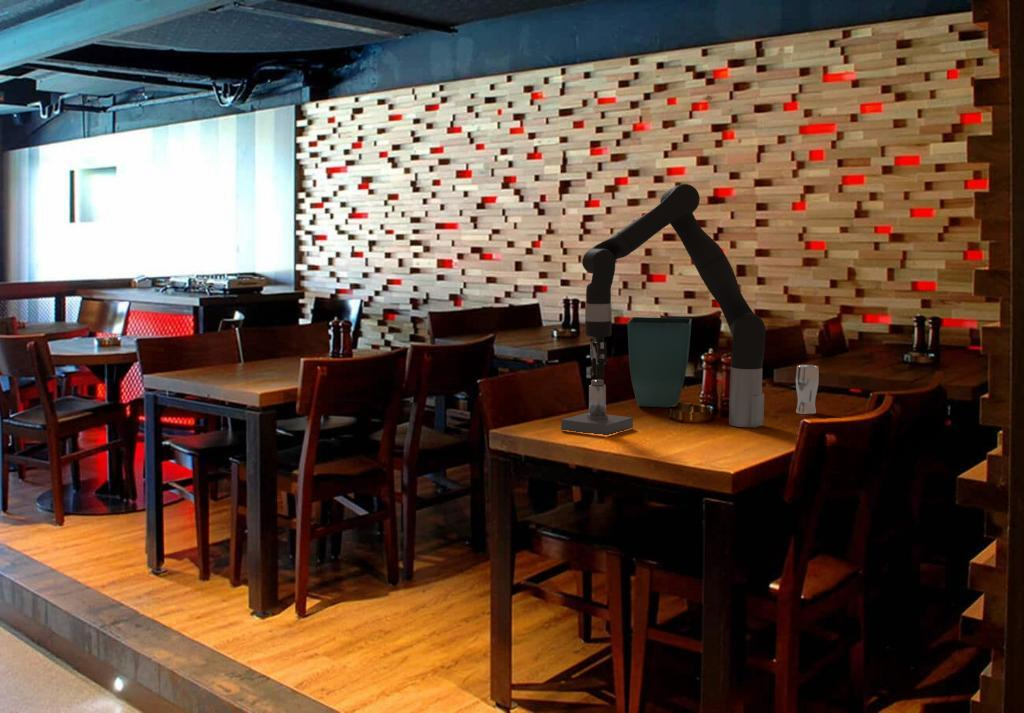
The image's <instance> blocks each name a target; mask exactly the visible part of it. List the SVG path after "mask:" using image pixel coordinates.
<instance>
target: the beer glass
mask: <svg viewBox="0 0 1024 713" xmlns="http://www.w3.org/2000/svg"><path fill="white" fill-rule="evenodd" d="M819 374H820V373H819V365H816V364H815V365H814V364H798V365H796V373H795V388H796V395H797V405H796V410H795V412H796V413H797V414H800V415H815V414H817V409H816V397H817V393H818V389H819V383H820V382H819V381H820V380H819V379H820V377H819V376H820V375H819Z"/></svg>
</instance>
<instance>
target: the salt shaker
mask: <svg viewBox="0 0 1024 713" xmlns="http://www.w3.org/2000/svg"><path fill="white" fill-rule="evenodd" d="M590 382H591V384H590V385H588V412H589V413H588V412H586V413H587V417H588V418H589V419H590V420H608V416H607V415H608V414H607V412H606V411H607V410H606V409H607V404H606V403H607V385H606V384H605V383H604V382H605V380H603V379H601V378H596V379H592V380H590Z"/></svg>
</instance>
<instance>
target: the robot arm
mask: <svg viewBox="0 0 1024 713" xmlns="http://www.w3.org/2000/svg"><path fill="white" fill-rule="evenodd" d="M700 199H701V198H700V194H699V192H698V190H697V189H696V188H695V186H693V185H691V184H687V183H681V184H676V185H674V186H673V187H671V188H670V189H668V190H666V191H665V192H664V193H663V194H661V197H660V203H659V204H658V205H656V206H655V207H654V208H653V209H651V210H649V211H648V212H646V213H645V214H643V215H642V216H640V217H638V218H636V219H635V220H633V221H631V222H630V223H628V224H627V225H625V226H624V227H623V228H621V229H620V230H619V231H617V232H616V233H614V234H613V235H612V236H610V237H609V238H607V239H605V240H603V241H601V242H599V243H598V244H595V245H594V246H593V247H591V248H589V249H588V250H587V251H586V252H585V253H584V255H583V257H582V259H581V260H582V261H581V263H582V267H583V269H584V270H585V271H586V272H588V273H590V274H592V277H591V281H590V282H589V283H588V284H587V285H586V290H585V310H584V311H585V312H584V334H585V336H586V337H589V338H590V339H589V340H590V344H589V345H590V346H589V349H590V350H589V351H590V354H589V358H590V360H591V374H592V375H596V379H604V378H605V377H606V376H605V374H606V370H605V368H606V366H605V365H606V364H607V362H608V360H607V344H608V343H607V341H605V338H607V337H608V338H609V337H611V336H612V332H613V330H612V327H613V326H612V323H613V322H612V319H613V318H612V315H613V313H612V290H611V289H612V285H613V281H614V277H615V273H616V260H617V259H622V258H625V257H627V256H629V255H630V254H631V253H634V252H635V250H637V249H639V248H640V247H641V246H642V245H643V244H645V243H646V242H647V241H648V240H650V239H651V238H652V237H654V236H655V235H656V234H658V233H659V232H661V231H662V230H663V229H664V228H665V227H667V226H668V225H670V226H671V227H672V228H673V230H674V231H675V233H676V234H677V236H678V238H679V239H680V241H681V243H682V244H683V246H684V248H685V250H686V253H687V254H688V255H689V258H690V259H691V261H692V263H693V265H694V267H695V269H696V271H697V272H698V275H699V276H700V278H701V281H703V283H704V285H705V286H706V288H707V289H708V291H709V293H710V294H711V296H712V297H713V299H714V300H715V301H716V303H717V305H718V306H719V307H720V309H721V312H722V314H723V316H724V319H725V321H726V323H727V326H728V328H729V331H730V334H731V335H732V348H731V350H732V351H731V357H730V374H729V404H728V406H729V408H728V412H729V414H728V425H730V426H731V427H732V426H733V427H738V428H758V427H761V426H764V415H765V414H764V413H765V412H764V411H765V393H764V392H763V366H764V364H763V363H764V359H765V348H766V325H765V323H764V321H763V319H762V318H761V317H760V316H759V315H756V314H755V313H754V311H753V310H752V309H751V307H750V306H749V304H748V302H747V300H746V299H745V297H744V296H743V294H742V292H741V289H740V287H739V282H738V280H737V276H736V274H735V272H734V269H733V267H732V265H731V263H730V260H729V259H728V257H727V256H726V253H725V252H724V250H723V248H722V247H721V246H720V245H719V244H718V242H716V241H715V239H713V238H712V237H711V236H710V235H709V234H707V233H706V232H705V230H704V229H702V227H701V225H700V224H699V223H698V221H697V219H696V217H695V215H694V212H695V211H696V210H697V209H698V207H699V205H700Z"/></svg>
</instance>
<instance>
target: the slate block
mask: <svg viewBox="0 0 1024 713" xmlns="http://www.w3.org/2000/svg"><path fill="white" fill-rule="evenodd" d="M587 413H589V411H588V412H585V413H581V414H577V415H573V416H570V417H566V418H562V419H561V420H560V422H561V425H560V431H561V430H569V431H576V432H583V433H594V434H603V435H609V434H613V433H616V432H620V431H624V430H627V429H630V428H633V429H634V417H630V416H623V415H616V414H615V415H613V414H606V415H607V416H608V420H590V419H589V418H588V417H587Z"/></svg>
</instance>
